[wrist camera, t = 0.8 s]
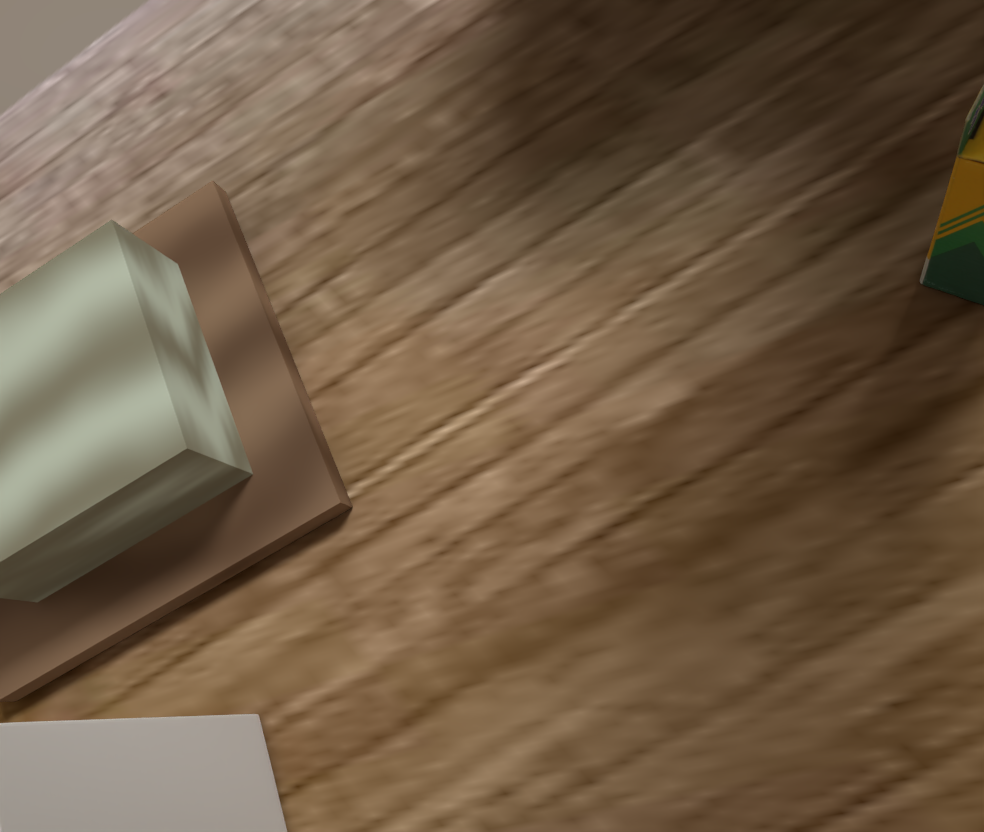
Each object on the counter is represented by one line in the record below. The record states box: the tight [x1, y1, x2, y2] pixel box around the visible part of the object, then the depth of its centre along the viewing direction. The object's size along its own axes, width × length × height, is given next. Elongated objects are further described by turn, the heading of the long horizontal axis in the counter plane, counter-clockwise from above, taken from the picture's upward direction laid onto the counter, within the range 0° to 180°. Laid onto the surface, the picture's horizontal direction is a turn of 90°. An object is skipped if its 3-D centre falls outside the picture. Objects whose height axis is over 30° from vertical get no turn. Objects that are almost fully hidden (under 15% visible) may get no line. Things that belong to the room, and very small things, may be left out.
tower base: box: [0, 181, 352, 702], centre depth 45 cm, size 20×20×6 cm
